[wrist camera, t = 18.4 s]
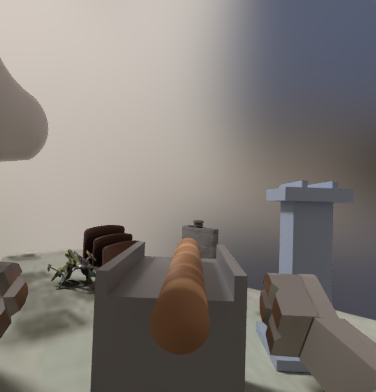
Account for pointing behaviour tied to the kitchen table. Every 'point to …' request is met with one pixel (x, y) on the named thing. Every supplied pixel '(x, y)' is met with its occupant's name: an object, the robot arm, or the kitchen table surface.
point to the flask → (202, 238)
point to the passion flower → (76, 262)
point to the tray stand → (142, 337)
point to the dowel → (182, 303)
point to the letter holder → (105, 243)
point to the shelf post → (305, 241)
